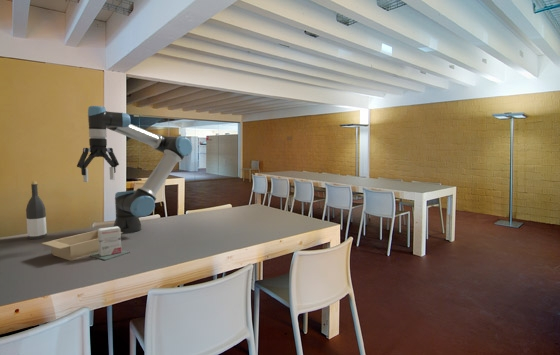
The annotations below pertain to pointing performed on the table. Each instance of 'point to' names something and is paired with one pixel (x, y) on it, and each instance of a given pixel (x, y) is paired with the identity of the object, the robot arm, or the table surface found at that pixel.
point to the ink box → (109, 240)
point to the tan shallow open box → (75, 245)
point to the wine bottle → (36, 215)
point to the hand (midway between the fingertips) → (99, 180)
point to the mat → (109, 255)
